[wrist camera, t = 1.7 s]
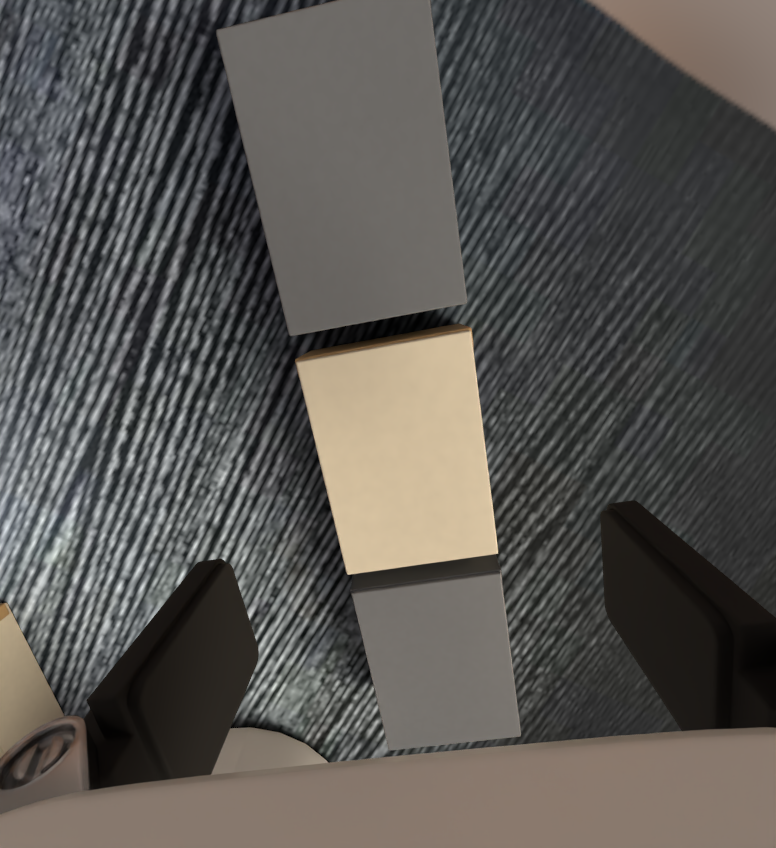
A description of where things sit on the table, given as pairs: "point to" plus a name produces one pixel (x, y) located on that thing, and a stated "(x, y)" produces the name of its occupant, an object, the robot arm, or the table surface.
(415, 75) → the grey book
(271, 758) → the can
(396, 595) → the grey book
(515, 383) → the table surface
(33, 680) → the beige rectangular block
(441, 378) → the cream book
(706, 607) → the robot arm
